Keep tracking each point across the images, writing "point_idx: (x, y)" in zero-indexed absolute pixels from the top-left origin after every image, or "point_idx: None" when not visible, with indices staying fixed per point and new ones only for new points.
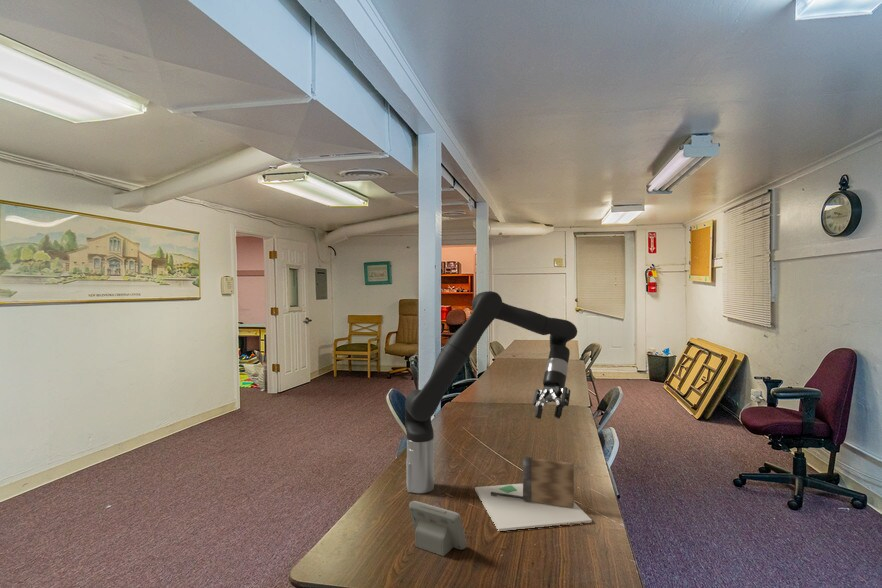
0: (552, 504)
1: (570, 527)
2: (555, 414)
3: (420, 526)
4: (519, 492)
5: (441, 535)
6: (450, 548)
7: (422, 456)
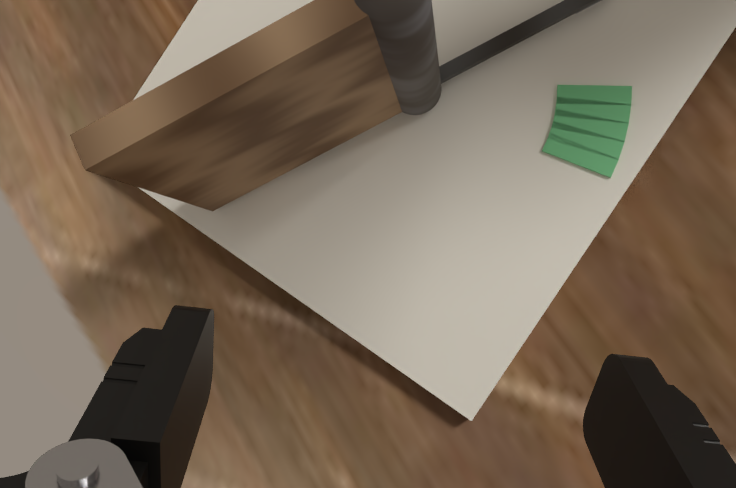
0: None
1: (152, 61)
2: (181, 317)
3: None
4: (514, 140)
5: None
6: None
7: None
